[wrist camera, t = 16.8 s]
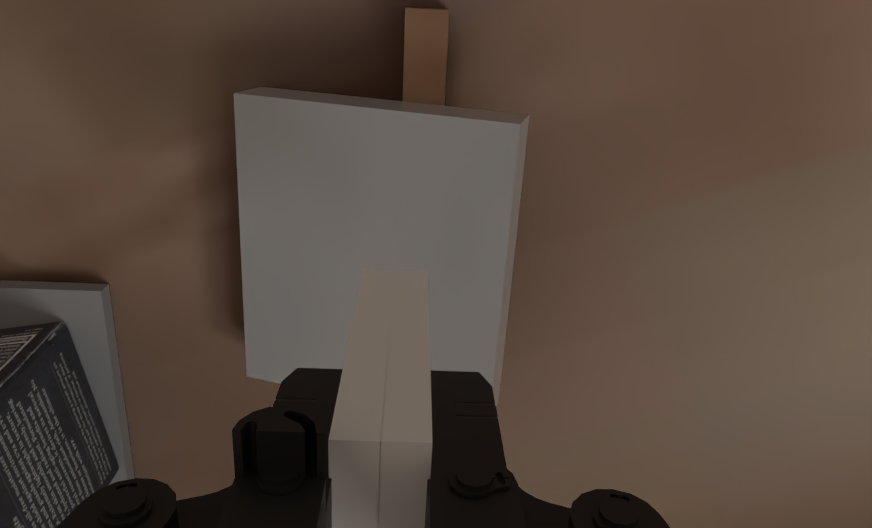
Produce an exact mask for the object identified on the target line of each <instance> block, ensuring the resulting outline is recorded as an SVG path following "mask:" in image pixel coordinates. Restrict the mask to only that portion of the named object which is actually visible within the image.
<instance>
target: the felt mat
mask: <svg viewBox="0 0 872 528" xmlns="http://www.w3.org/2000/svg"><path fill="white" fill-rule="evenodd" d="M52 322H62V323H64V324H65V325H66V326H67V328H68V330H69V332H70V335H71V338H72V340H73V343H74V345H75V348H76V351H77V353H78V356H79V358H80V362H81V365H82V367H83V370H84V372H85V375H86V378H87V380H88V383H89V386H90V389H91V391H92V393H93V396H94V399H95V401H96V404H97V407H98V409H99V412H100V415H101V418H102V421H103V423H104V426H105V429H106V431H107V434H108V437H109V440H110V442H111V445H112V448H113V450H114V453H115V456H116V459H117V462H118V466H119V470H118V472H117V473H116V475H115V477H114V478H113V480H112V481H111V483H110V484H113V483H115V482H119V481H124V480H129V479H135V475H134V468H133V460H132V453H131V446H130V438H129V431H128V423H127V416H126V408H125V401H124V393H123V386H122V379H121V371H120V364H119V356H118V349H117V341H116V334H115V327H114V319H113V312H112V304H111V297H110V289H109V284H97V283H69V282H40V281H11V280H0V329H7V328H13V327H20V326H30V325H39V324H46V323H52ZM110 484H109V485H110Z"/></svg>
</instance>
